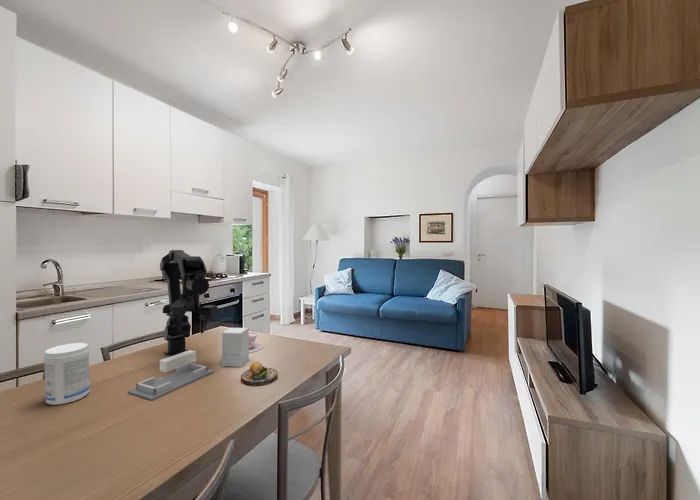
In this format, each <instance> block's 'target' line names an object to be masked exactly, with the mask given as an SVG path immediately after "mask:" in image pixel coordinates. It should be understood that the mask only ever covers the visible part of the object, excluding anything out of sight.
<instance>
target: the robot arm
mask: <svg viewBox="0 0 700 500" xmlns="http://www.w3.org/2000/svg"><path fill="white" fill-rule="evenodd" d="M159 270H160V271H161V275H162V277H163V278H164V279H165V280H166V281H167V292H168V304H165V305H164V306H163V307H162V314H166V316H168V319H167V320H166V324H165V328H164V330H163V340H165V341H166V342H167V350H166V351H165V352H164V354H165V355H168V356H174V355H177V354H180V353H182V352H185V351H188V350H189V349H186V348H187V347H186V338H190V335H191V328H192V325H191V324H190V321H189V316H188V315H186V313H199V316H198V318H199V319H200V326H199V327H200V334H204V332H205V331H206V328H207V326H208V324H209V322H210V320H211V318H212V317H213V316H215V315H216V314H218V313H219V307H218V306H217V305H216V304H215V305H214V304H208V305H203V306H202V302H200V296H202V295H203V294H206V292H208V291H209V289H210V284H209V281H208V280H207V279H206V278H204V276H207V267H206V265H205V262H204V260H203V259H202V257H201V256H199V255H195V256H192V255H190V254H188V253H186V252H185V251H184V250H183V249H171V250H169V252H168V254H166V255H164V256H163V257H161V260H160V263H159ZM181 277H182V279H181V280H182V281H180V278H181ZM181 284H182V286H181Z"/></svg>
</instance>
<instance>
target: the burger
mask: <svg viewBox="0 0 700 500" xmlns="http://www.w3.org/2000/svg"><path fill="white" fill-rule="evenodd" d="M251 361H252V363H251V364H250V366H249V369H247V370H246V371H244V372H243V373H242V374H241V375H240V383H242V384H243V385H245V386H248V387H261V386H264V385H268V384H272V383H274V382H275V381H276V378H277V376H278V371H277V370H276V369H275V368H271V367H270V368H269V367H266V366H263V362H260V361H253V359H252V360H251Z"/></svg>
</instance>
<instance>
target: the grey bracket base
mask: <svg viewBox="0 0 700 500" xmlns="http://www.w3.org/2000/svg"><path fill="white" fill-rule="evenodd" d="M214 372H215V370H212V369H208V366H204V365H201V364H196V363H194V362H193V363H188V364H185V365H183V366H180V367H178V368H176V369H175V371H174V372H172V373H169V374H168V375H165V376H162V377H159V378H156V377H154V376H153V377H150V378H148V379H145V380H142V381H139V382H136V384H135V387H134V388H132V389H129V390H127V394H129V395H132V396H135V397H138V398H142V399H145V400H148V401H152V402H153V401H155V400H157V399H159V398H162V397H163V396H165V395H168V394H169V393H172V392H174V391H176V390H179V389H181V388H183V387H185V386H187V385H189V384H191V383H193V382H195V381H199V380H201V379H202V378H203V379H204V378H205V377H206V376H209V375H212V374H214Z"/></svg>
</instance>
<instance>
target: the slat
mask: <svg viewBox="0 0 700 500" xmlns="http://www.w3.org/2000/svg"><path fill="white" fill-rule="evenodd" d="M187 350H188V351H185V352H182V353H180V354H177V355H174V356H172V355H170V356H168V357H166V358H165V357H164V358H162V359H160V360H159V372H163V373H169V372H171V371H174V370H176V368H178V367H180V366H183V365H185V364H188V363H193V364H194V363H195V362H197V351H196V350H191V349H187Z"/></svg>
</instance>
